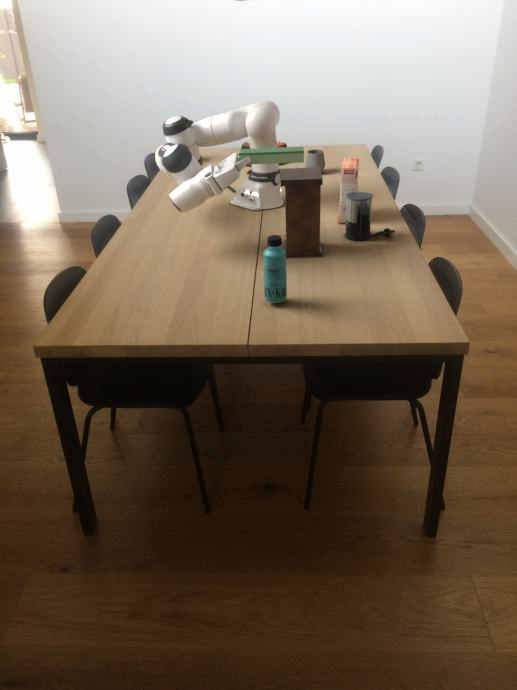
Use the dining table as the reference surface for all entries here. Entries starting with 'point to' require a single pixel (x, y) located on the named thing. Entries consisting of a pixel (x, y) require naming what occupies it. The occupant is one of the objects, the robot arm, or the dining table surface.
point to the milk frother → (360, 216)
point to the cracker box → (347, 184)
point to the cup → (315, 159)
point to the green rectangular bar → (273, 155)
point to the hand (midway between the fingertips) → (250, 155)
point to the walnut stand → (302, 211)
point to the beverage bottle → (275, 270)
